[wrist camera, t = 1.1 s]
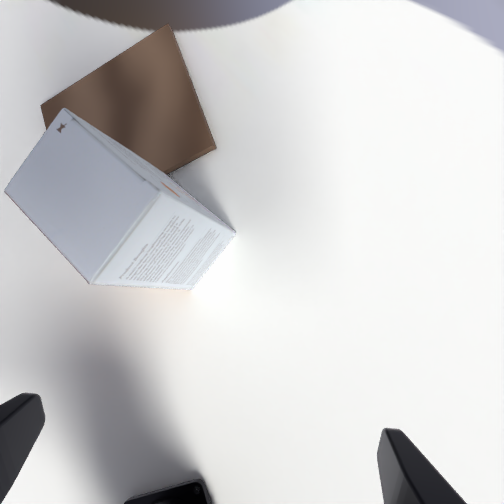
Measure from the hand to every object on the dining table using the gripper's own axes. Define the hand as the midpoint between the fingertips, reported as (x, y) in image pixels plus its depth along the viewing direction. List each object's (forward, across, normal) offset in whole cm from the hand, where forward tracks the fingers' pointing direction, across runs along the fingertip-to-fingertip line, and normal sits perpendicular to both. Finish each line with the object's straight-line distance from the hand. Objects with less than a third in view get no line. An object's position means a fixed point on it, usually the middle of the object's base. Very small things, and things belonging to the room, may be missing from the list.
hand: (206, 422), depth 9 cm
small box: (+18, +6, +1) cm, 19 cm away
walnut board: (+24, +12, -6) cm, 27 cm away
